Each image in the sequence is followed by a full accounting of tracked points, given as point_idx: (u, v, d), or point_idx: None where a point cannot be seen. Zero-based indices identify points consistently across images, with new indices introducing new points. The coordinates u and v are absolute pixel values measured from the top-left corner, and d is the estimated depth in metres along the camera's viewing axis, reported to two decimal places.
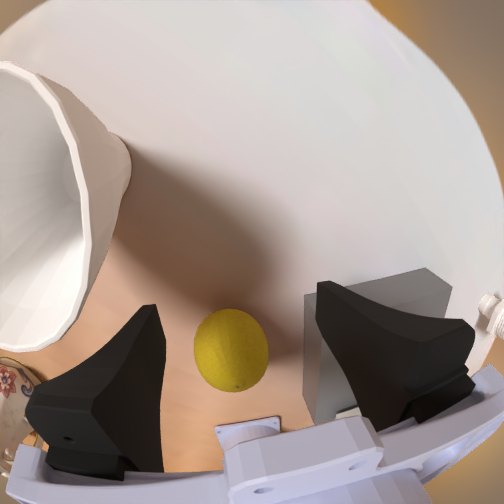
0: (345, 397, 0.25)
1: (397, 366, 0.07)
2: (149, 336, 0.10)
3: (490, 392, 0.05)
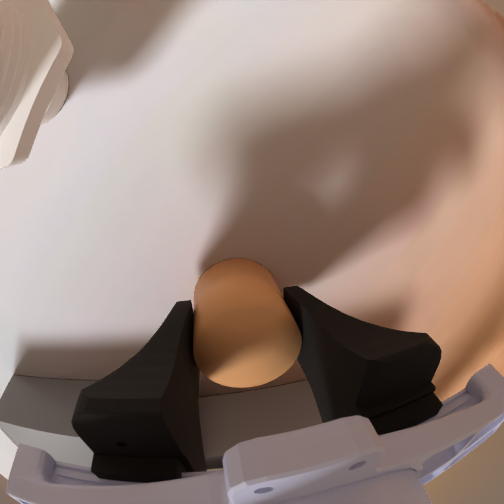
0: None
1: (349, 382, 0.07)
2: (189, 332, 0.10)
3: (489, 392, 0.05)
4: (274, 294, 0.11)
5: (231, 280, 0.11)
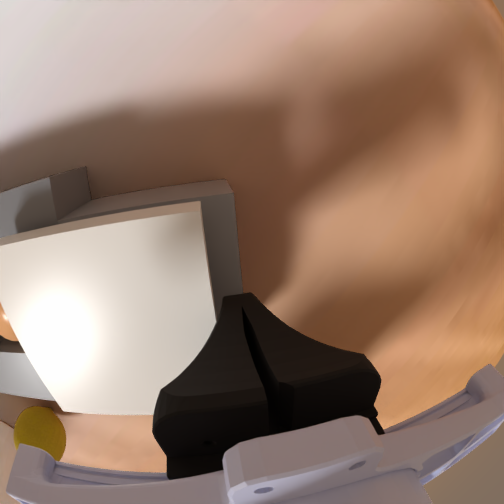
0: None
1: (273, 400, 0.06)
2: (243, 326, 0.10)
3: (490, 392, 0.05)
4: None
5: None
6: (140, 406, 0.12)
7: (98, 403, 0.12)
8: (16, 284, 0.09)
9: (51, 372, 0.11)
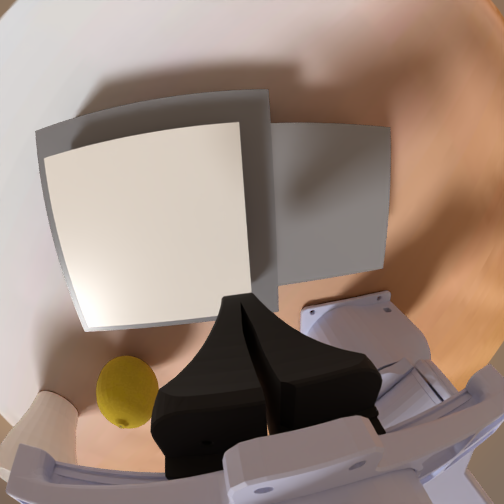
0: None
1: (275, 400, 0.06)
2: (242, 326, 0.10)
3: (490, 392, 0.05)
4: None
5: None
6: (168, 309, 0.15)
7: (127, 310, 0.15)
8: (74, 185, 0.12)
9: (87, 276, 0.14)
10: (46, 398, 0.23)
